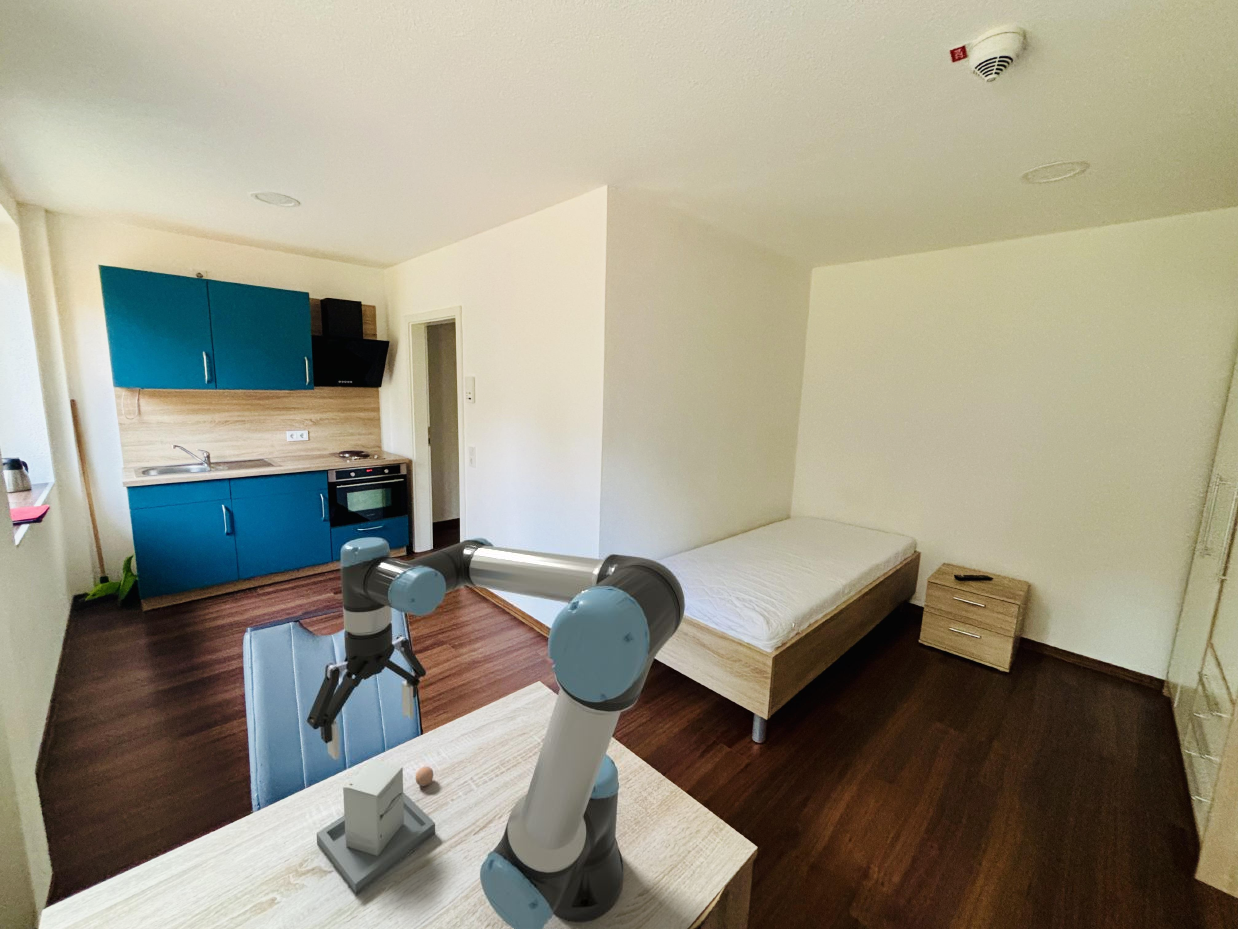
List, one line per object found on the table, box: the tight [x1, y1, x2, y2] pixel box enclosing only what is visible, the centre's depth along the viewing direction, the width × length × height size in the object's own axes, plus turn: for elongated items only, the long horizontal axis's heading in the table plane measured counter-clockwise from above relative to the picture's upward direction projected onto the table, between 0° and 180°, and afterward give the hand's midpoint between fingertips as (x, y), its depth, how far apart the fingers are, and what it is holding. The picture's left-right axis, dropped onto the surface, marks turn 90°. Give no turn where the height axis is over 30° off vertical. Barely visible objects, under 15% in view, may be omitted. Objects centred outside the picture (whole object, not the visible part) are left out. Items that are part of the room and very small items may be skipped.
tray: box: [316, 791, 436, 897], centre depth 93 cm, size 15×15×2 cm
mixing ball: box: [415, 765, 434, 787], centre depth 106 cm, size 4×4×4 cm
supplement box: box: [342, 758, 404, 856], centre depth 92 cm, size 7×7×13 cm
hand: (373, 734), depth 90 cm, fingers open, 13 cm apart
